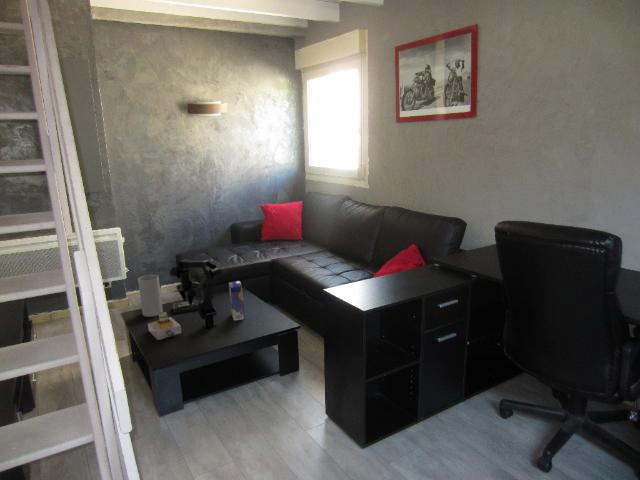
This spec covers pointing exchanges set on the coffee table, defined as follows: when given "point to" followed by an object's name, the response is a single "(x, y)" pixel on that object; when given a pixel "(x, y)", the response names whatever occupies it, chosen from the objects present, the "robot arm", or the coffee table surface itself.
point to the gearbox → (164, 329)
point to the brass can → (163, 317)
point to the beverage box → (236, 300)
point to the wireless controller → (187, 305)
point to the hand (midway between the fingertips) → (187, 302)
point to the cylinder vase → (150, 295)
